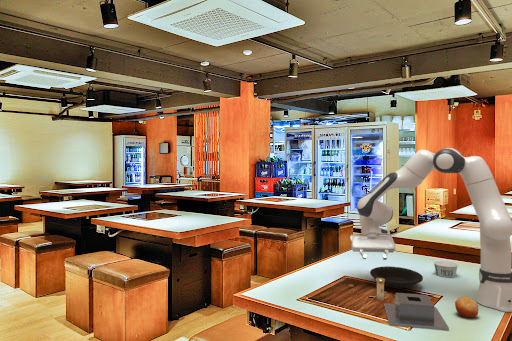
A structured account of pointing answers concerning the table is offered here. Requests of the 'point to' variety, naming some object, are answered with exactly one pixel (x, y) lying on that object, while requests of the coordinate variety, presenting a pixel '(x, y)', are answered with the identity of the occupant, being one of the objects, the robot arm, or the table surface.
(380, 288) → the pin
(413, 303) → the block
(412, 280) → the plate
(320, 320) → the table surface
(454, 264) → the food container
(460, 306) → the fruit
